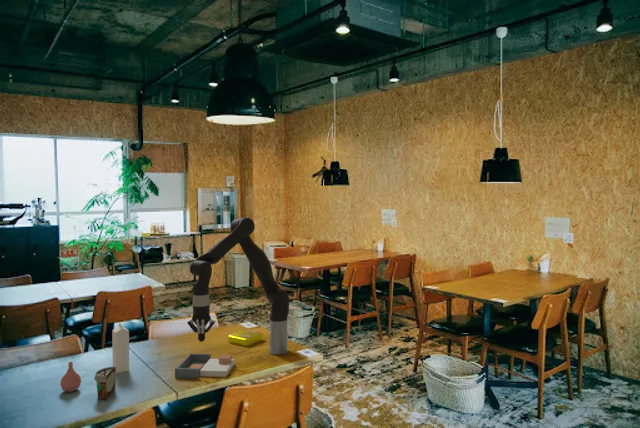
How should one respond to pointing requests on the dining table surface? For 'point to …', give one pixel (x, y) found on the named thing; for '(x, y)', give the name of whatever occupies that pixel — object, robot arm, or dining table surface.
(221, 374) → the board
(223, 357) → the tile inner
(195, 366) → the tile outer
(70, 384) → the pink bulb-shaped piece
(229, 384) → the dining table surface
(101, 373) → the food container
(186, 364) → the tray
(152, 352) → the dining table surface
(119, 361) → the milk
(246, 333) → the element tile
